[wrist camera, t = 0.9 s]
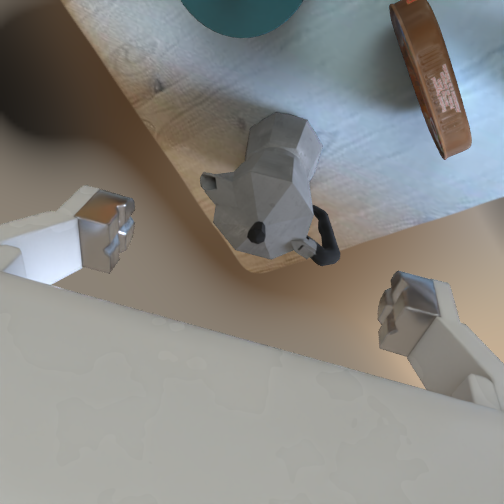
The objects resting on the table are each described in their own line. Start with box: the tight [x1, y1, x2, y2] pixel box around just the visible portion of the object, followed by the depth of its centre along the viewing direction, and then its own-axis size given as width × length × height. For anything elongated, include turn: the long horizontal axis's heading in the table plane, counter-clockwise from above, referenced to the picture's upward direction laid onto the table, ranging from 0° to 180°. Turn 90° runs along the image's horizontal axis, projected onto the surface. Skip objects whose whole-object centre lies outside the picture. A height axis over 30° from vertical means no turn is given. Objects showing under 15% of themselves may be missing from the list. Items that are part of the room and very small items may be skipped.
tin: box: [389, 0, 472, 160], centre depth 38 cm, size 15×3×8 cm, turn 30°
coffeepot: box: [200, 112, 340, 266], centre depth 43 cm, size 15×9×18 cm, turn 57°
